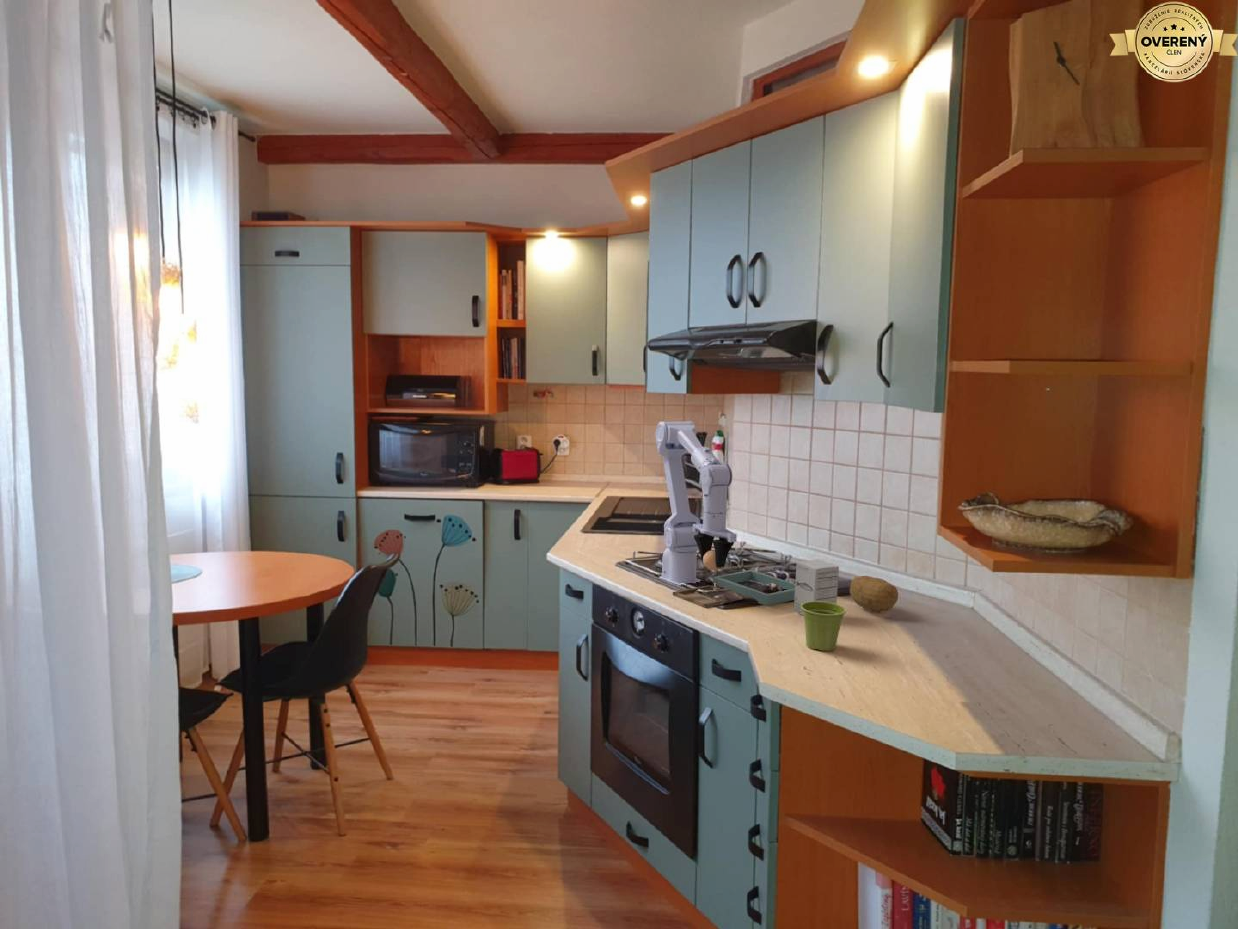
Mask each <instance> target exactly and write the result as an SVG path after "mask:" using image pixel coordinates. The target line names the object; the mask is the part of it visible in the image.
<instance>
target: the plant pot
mask: <svg viewBox="0 0 1238 929" xmlns="http://www.w3.org/2000/svg"><path fill="white" fill-rule="evenodd" d="M801 609H802V610H803V615H802V616H803V617H804V618H803V619H804V629H805V630H804V631H805V643H806V646H807V647H808V648H810V649H811V650H819V651H821V652H829V651H833V650H834V649H836V647H837V644H838V643H837V642H838V637H839V634H840V629H841V628H840V627H841V624H842V620H843V618H844V615H845V614H846V613H847V608H846V607H845V606H842V605H841V604H835V603H830V602H823V601H809V602H805V603H802V604H801Z"/></svg>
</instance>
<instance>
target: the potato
mask: <svg viewBox="0 0 1238 929" xmlns="http://www.w3.org/2000/svg"><path fill="white" fill-rule="evenodd" d="M849 594H850V596H851V598H852V600H853V602H854V603H855V604H856V605H857V606H859V607H861V608H864V609H866V610H868V611H870V612H875V613H882V612H886V611H889V610H891V609H893V607H894V606H895V604H896V603H897V602H898V599H899V592H898V589H897V587H896V586H895V585H894V584H892V583H891V582H888V581H887V580H885V579H882V578H879V577H873V576H869V575H860V576H855V577H854V578H853V579H852V580H851V582H850V585H849Z"/></svg>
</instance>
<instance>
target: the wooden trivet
mask: <svg viewBox="0 0 1238 929" xmlns="http://www.w3.org/2000/svg"><path fill="white" fill-rule="evenodd" d="M709 587H712V588H715V587H713V585H711V584H708V585H703V586H698V587H692V588H686V589H682V590H677V591H673V592H672V596H674V597H676V598H679V599H682V600H684V601H686V602H688V603H691V604H693V605H696V606H699V607H701V608H704V609H708V608H713V607H718V606H721V605H720V603H722V602H723V601H727V600H720V601H715V602H712V601H711V600H709V599H707V598H705V597H703V596H701V595H699V594H698V593H695V591H696V590H698V589H706V588H709ZM715 589H720V588H717V587H716V588H715ZM724 591H725V590H724ZM729 593H730V594H732V595H736V594H734V593H731V592H729Z"/></svg>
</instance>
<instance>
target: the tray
mask: <svg viewBox="0 0 1238 929" xmlns="http://www.w3.org/2000/svg"><path fill="white" fill-rule="evenodd" d="M712 580H713V581H712V584H713V583H716V584H717V585H719V586H720V587H723V588H724V589H730V590H733V591H735V592H737V593H740V594H742V595H747V596H750V597H753V598H754V599H756V600H757V601H758V603H757V604H760V605H763V606H767V607H769V606H773V605H778V604H782V603H788V602H792V601H794V598H795V583H793V582H790V581H788V580H785V579H781V578H779V577H776V576H772V575H769V574H765V573H762V572H759V571H756V570H753V569H749V570H748V569H747V570H743V571H738V572H732V573H727V574H722V575H721V574H720V575H717V576H713V577H712ZM748 580H753V581H756V582H760V583H767V584H769V583H774V584H776V585H779V586H780V587H782V588H783V589H787V590H784V591H776V592H771V593H766V592H763V591H760V590H758V589H754V588H752V587H748V586H745V585H743V584H740V583H738V582H741V583H744V582H743V581H746V582H749V581H748Z"/></svg>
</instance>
